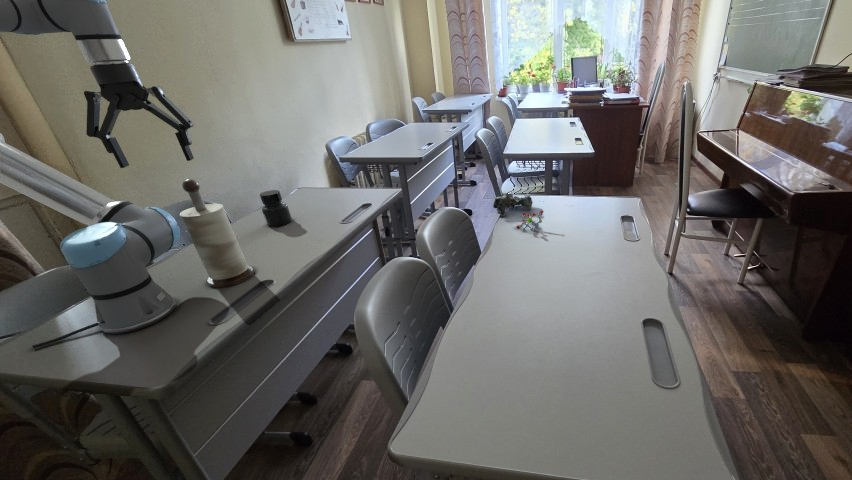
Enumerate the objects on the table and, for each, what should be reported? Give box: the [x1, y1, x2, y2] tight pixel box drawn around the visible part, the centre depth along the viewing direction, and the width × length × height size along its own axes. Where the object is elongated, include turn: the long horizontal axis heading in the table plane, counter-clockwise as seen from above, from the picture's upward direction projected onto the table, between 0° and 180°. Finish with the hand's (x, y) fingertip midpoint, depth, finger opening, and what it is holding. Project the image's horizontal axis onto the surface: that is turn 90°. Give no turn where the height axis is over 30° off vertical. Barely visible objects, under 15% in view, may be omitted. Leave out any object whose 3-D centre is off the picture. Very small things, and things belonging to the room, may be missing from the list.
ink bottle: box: [259, 189, 293, 227], centre depth 153 cm, size 10×9×12 cm
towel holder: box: [179, 178, 255, 288], centre depth 111 cm, size 12×29×12 cm
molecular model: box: [515, 209, 544, 232], centre depth 137 cm, size 7×8×8 cm
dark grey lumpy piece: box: [492, 192, 533, 218], centre depth 153 cm, size 12×11×15 cm
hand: (158, 163), depth 96 cm, fingers open, 13 cm apart
